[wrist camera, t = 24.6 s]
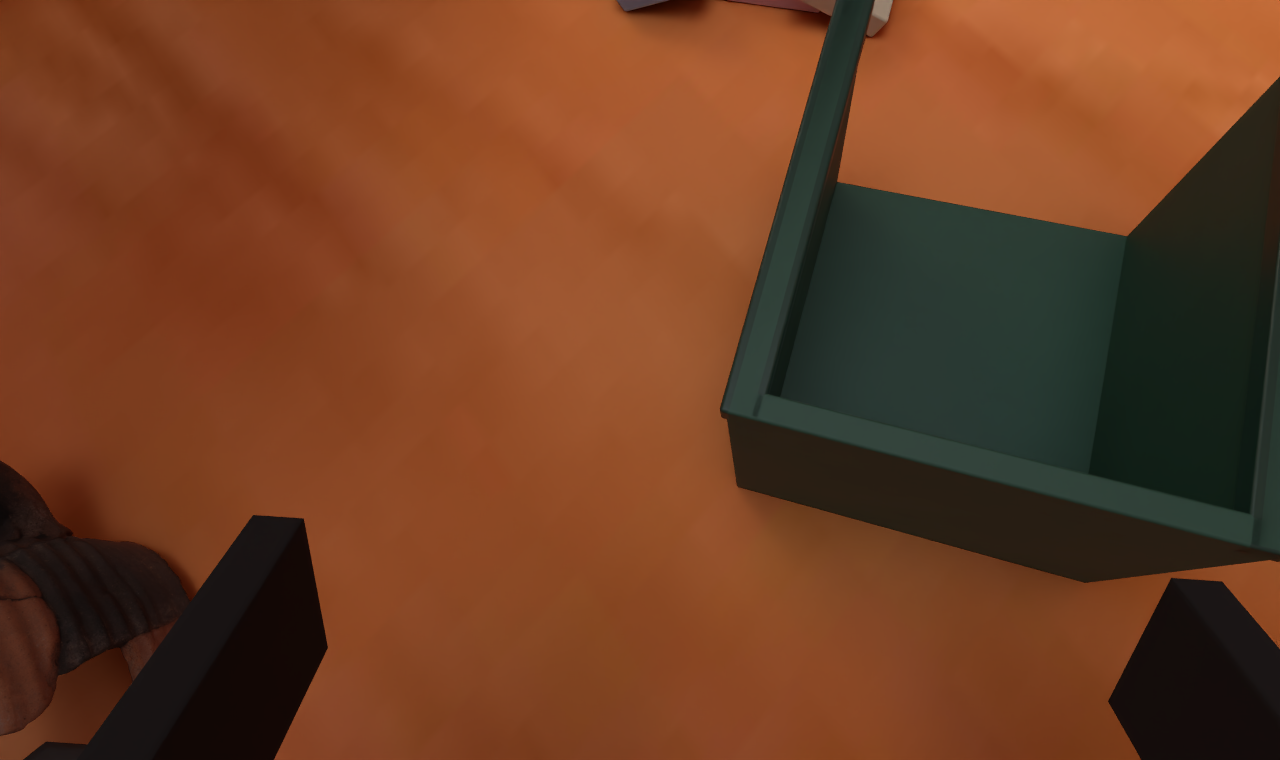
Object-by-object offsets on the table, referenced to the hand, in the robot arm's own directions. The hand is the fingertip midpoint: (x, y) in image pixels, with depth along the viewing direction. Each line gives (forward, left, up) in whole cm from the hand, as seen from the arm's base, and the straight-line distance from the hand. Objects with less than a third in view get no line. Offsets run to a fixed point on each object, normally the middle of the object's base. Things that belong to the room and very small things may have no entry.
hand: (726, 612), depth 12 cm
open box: (-3, +9, -11) cm, 15 cm away
